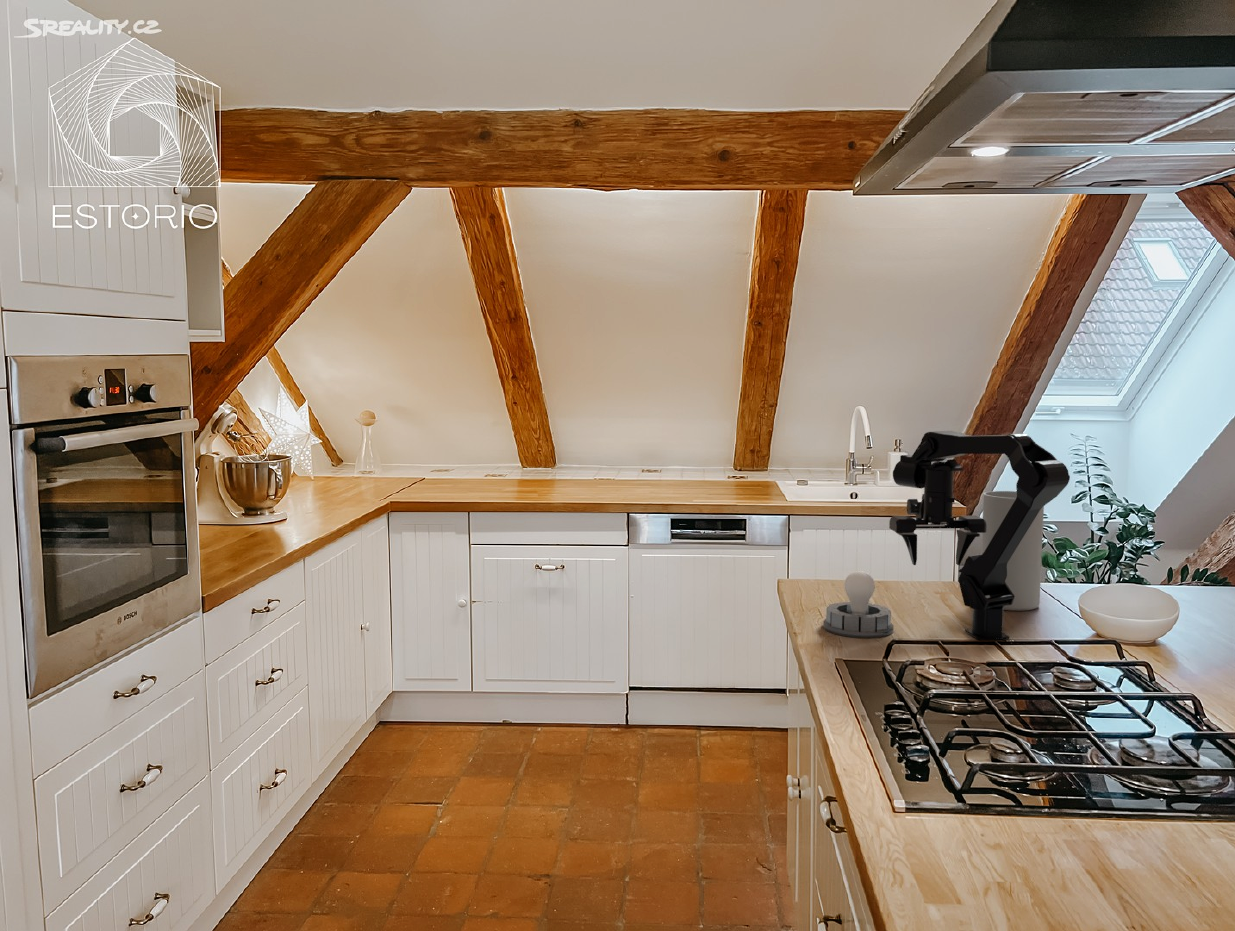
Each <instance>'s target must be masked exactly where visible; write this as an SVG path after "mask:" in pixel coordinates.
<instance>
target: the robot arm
mask: <svg viewBox="0 0 1235 931" xmlns="http://www.w3.org/2000/svg"><path fill="white" fill-rule="evenodd" d="M996 454H997V455H1006V457H1007V458H1008V461H1009V464H1010V467H1011V470H1012V471H1013V472H1014V473H1015V475H1016V476H1017V477H1018V479H1017V482H1016V483H1015V484H1016V485H1015V486H1016V491H1017V497H1016V499H1015V501H1014V503H1013V504H1012V506H1011V508H1010V509H1009V511H1008V513H1007V514H1006V516H1005V518H1004V519H1003V521H1002V523H1001V524H1000V526H999V528H998V529H997V531H996V533H995V534H994V536H993V538H992V539H991V541H990V543H989V544H988V546H987V548H986V549H985V551H984V553H983V554H973V555H969V556H968V557H967V558H966V559H965V562H964V564H963V565H962V567H961V568H960V569H958V573H959V576H958V580H957V582H958V584H959V588H960V592H961V596H962V599H963V605H964V606H965V607H969V608H970V609H972V620H971V625H972V626H971V628H965V629H964V631H965V632H966V633H967V634H968V635H970V636H972V637H973V638H974V639H976V640H978V639H980V640H979V641H981V640H983V641H984V640H985V641H987V640H989V641H990V640H991V641H992V640H995V641H996V640H1010V639H1011V638H1010V636H1009V635H1007V634H1006V633H1004V632H1003V628H1004V627H1003V626H1004V625H1003V624H1004V610H1003V607H1004V606H1006V605H1012V603H1013V600H1014V598H1015V596H1014V594H1013V593H1012V591H1011V590H1010V589H1009V587H1008V586H1007V584H1006V583H1005V580H1006V578H1007V563H1008V561H1009V560H1010V558H1011V556H1012V555H1013V553H1014V552H1015V550H1016V548H1017V547H1018V545H1019V543H1020V542H1021V540H1022V539H1023V537H1024V535H1025V534H1026V532H1027V531H1028V529H1029V527H1030V526H1031V524H1032V523H1033V521H1034V519H1035V518H1036V516H1037V514H1038V513H1039V511H1040V510H1041V508H1042V507H1043V506H1044V507H1045V506H1046V505H1047V504H1048V503H1050V502H1051V501H1052V500H1054V499H1056V498H1057V497H1058V496H1059V495H1060V493H1062V492H1063V491H1064V489H1065V488H1067V486H1068V485H1069V482H1070V481H1071V480H1070V479H1071V476H1070V474H1069V469H1068V468H1067V466H1066V465H1065V464H1064V463H1063V462H1062V461H1060V460H1058V459H1057V458H1056V457H1055V455H1053V453H1051V452H1049V451H1048V450H1047V449H1045V448H1043V447H1042V446H1040V445H1039V444H1037V443H1036V442H1035V441H1034V440H1033V438H1032V437H1031V436H1029V435H1028V434H1026V433H1009V434H1001V435H1000V434H997V435H990V434H989V435H988V434H987V435H968V434H965V433H963V432H960V431H959V432H958V431H954V430H944V431H943V430H940V431H938V430H937V431H928V432H925V433H924V434H923V436H922V438H921V440H920V442H919V444H918V446H917V447H916V449H915V450H914V452H913V454H912V455H911V454H903V455H902V454H901V455H900V457H899V460H900V461H898V462H896V464H895V466H894V468H893V470H892V479H893V481H894V483H895V484H896V485H898V486H900V487H908V488H913V489H915V488H916V489H921V490H922V489H923V490H924V491H923V494H922V496H921V500H920V501H919V500H918V498H909V499H907V500H906V513H907V514H906V515H892V516H891V517H890V519H889V522H888V523H889V524H888V525H889V526H888V527H889V530H892V531H893V532H894V533H896V534H897V535H899V536H901V537H902V538H903V541H904V543H905V545H906V547H907V550H908V555H909V556H910V561H911V564H912V565H913V566H916V565H917V561H918V534H916V533H915V531H916V530H917V529H920V530H921V529H929V530H931V529H933V530H934V529H956V535H957V536H956V537H957V542H956V543H957V544H956V554H955V565H956V566H960V565H961V563H962V561H963V559H964V558H965V555H966V553H967V552H968V550H969V548H970V546H971V544H972V543H973V541H974V540H975V539H976V538H980V536H981V535H980V533H981V534H982V533H985V532H986V526H987V524H986V521H985V520H984V519H983V517H979V515H959V516H958V519H955V518H954V517H953V504H954V503H955V499H956V498H955V497H954V492H953V491H954V472H962V471H963V470H964V468H963V467H962V466H961V465H960V464H959V463H958V462H957V460H956V459H953V458H957V457H962V456H965V455H996ZM946 459H947V460H946ZM945 460H946V461H945ZM911 515H913V516H914V515H915V518H913V517H911ZM988 595H990V598H986V597H985V596H988Z"/></svg>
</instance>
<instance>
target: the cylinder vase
mask: <svg viewBox="0 0 1235 931" xmlns="http://www.w3.org/2000/svg"><path fill="white" fill-rule="evenodd" d="M1016 497H1017V490H1015V491H1012V490H995V491H993V490H992V491H985V492H983V498H982V499H983V502H982V519H984V520H985V521H986V524H987V526H986V532H985V533H981V554H983V553H984V551H985V549H986V548H987V546H988V544H989V543H990V541H991V539H992V538H993V536H994V534H995V533H996V531H997V529H998V528H999V526H1000V524H1001V523H1002V521H1003V519H1004V518H1005V516H1006V514H1007V513H1008V511H1009V509H1010V508H1011V506H1012V504H1013V503H1014V501H1015V499H1016ZM1044 510H1045V505H1044V506H1043V507H1042V508H1041V510H1040V511H1039V513H1038V514H1037V516H1036V518H1035V519H1034V521H1033V523H1032V524H1031V526H1030V527H1029V529H1028V531H1027V532H1026V534H1025V535H1024V537H1023V539H1022V540H1021V542H1020V543H1019V545H1018V547H1017V548H1016V550H1015V552H1014V553H1013V555H1012V556H1011V558H1010V560H1009V561H1008V563H1007V578H1006V580H1005V583H1006V584H1007V586H1008V587H1009V589H1010V590H1011V591H1012V593H1013V594H1014V596H1015V598H1014V600H1013V603H1012V605H1006V606H1004V607H1003V611H1013V612H1017V611H1018V612H1024V611H1033V610H1035V609H1037V608H1038V607H1039V606H1040V603H1041V602H1040V599H1041V583H1042V582H1041V579H1042V576H1041V575H1042V558H1043V557H1042V554H1043V534H1044V514H1045V513H1044ZM985 597H986V598H990V595H988V596H985Z"/></svg>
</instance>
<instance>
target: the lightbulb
mask: <svg viewBox="0 0 1235 931" xmlns="http://www.w3.org/2000/svg"><path fill="white" fill-rule="evenodd" d="M843 584H844V585H843V586H844V587H843V588H844V591H845V593H846V596H847V597H848V600H849V602H850V603H851V611H852V614H855V615H866V611H867V606H868V603H869V602H870V599H871V598H872V596H873V594H874V592H875V589H876V584H875V580H874V578H873V577H872V576H871V575H870V574H869V573H868V572H866V571H863V570H855V571H852V572H851V573H849V574H848V575H847V576H846V578H845V579H844V583H843Z"/></svg>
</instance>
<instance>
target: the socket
mask: <svg viewBox="0 0 1235 931" xmlns="http://www.w3.org/2000/svg"><path fill="white" fill-rule="evenodd" d="M825 610H826V613H825V614H826V615H825V619H824V620H823V623H822V625H823V626H822V627H823V630H824V631H826V632H827V633H830V634H833V635H837V636H840V637H846V638H853V639H854V638H855V639H877V638H879V639H880V638H885V637H888V636H891V635H892V634H893V633H894V629H895V628H894V627H895V626H894V623H892V622H891V621H892V611H891V609H889V608H888V607H886V606H882V605H880V604H876V603H872V602H871V603H869V602H868V606H867V611H866V615H855V614H852V611H851V603H850V601H843V602H837V603H832V604H829V605H828V606H827V607H826V609H825Z"/></svg>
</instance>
